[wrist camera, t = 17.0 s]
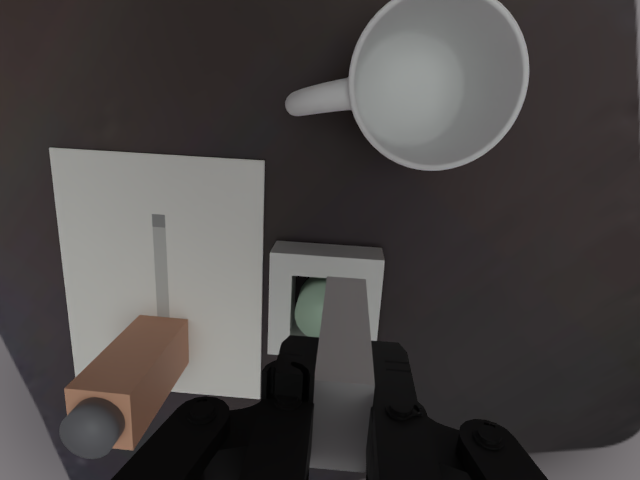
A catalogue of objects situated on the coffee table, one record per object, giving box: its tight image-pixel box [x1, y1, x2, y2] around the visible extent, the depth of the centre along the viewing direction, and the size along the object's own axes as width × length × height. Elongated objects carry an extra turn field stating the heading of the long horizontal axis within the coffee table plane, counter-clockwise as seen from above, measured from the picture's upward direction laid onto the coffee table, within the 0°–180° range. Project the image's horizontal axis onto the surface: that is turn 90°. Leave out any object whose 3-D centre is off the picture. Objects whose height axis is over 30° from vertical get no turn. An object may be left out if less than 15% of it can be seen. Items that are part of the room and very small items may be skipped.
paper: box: [49, 147, 265, 399], centre depth 36 cm, size 20×16×1 cm
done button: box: [295, 277, 327, 337], centre depth 33 cm, size 4×4×3 cm
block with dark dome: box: [59, 315, 189, 459], centre depth 31 cm, size 4×4×11 cm
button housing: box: [268, 241, 385, 355], centre depth 34 cm, size 8×8×3 cm
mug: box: [285, 0, 529, 171], centre depth 26 cm, size 12×8×10 cm
